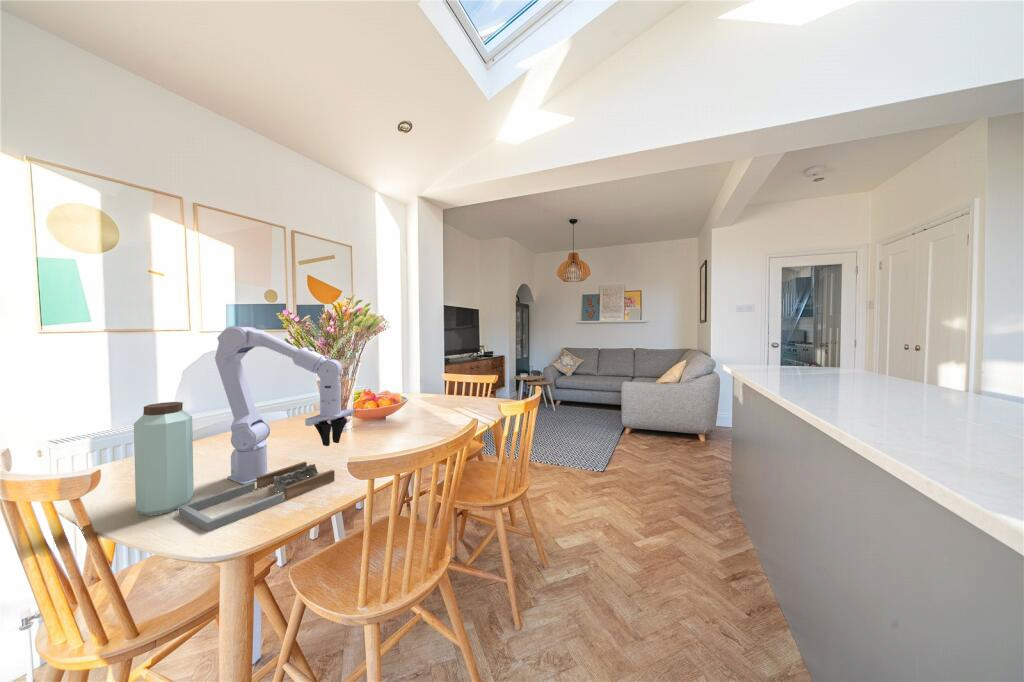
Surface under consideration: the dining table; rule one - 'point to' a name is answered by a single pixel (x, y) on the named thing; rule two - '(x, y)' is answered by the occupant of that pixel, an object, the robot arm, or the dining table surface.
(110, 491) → the dining table surface
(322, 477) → the walnut rack
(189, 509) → the grey bay
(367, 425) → the dining table surface
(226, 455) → the dining table surface
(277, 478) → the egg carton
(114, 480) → the dining table surface
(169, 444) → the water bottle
